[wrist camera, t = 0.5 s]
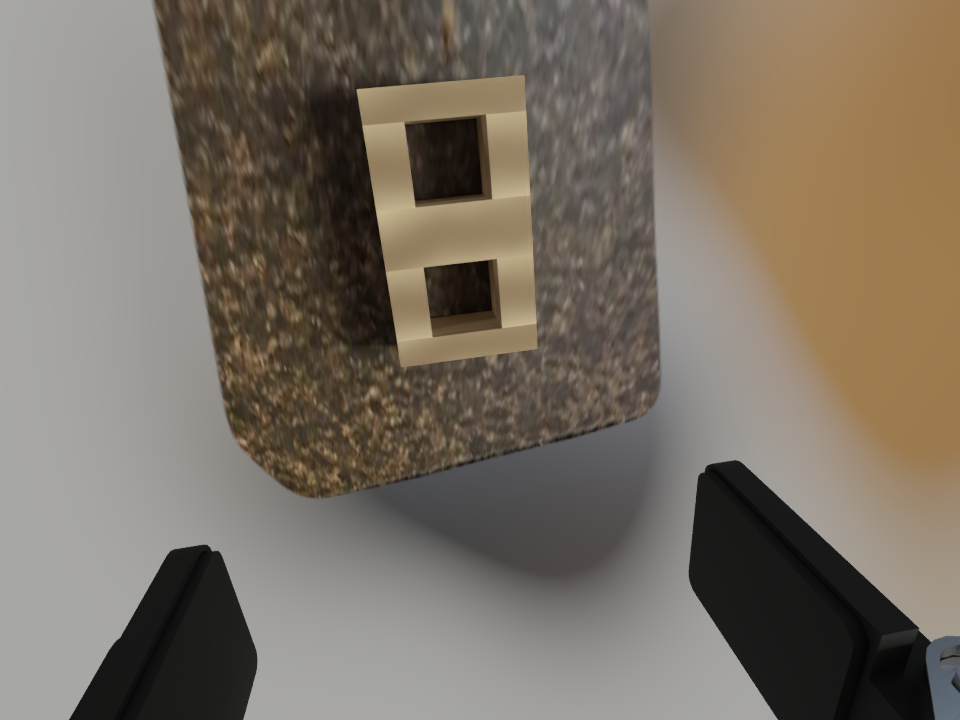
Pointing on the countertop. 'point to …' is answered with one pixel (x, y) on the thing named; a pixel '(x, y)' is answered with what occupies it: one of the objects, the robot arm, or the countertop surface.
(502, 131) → the hole block
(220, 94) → the countertop surface
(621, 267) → the countertop surface
